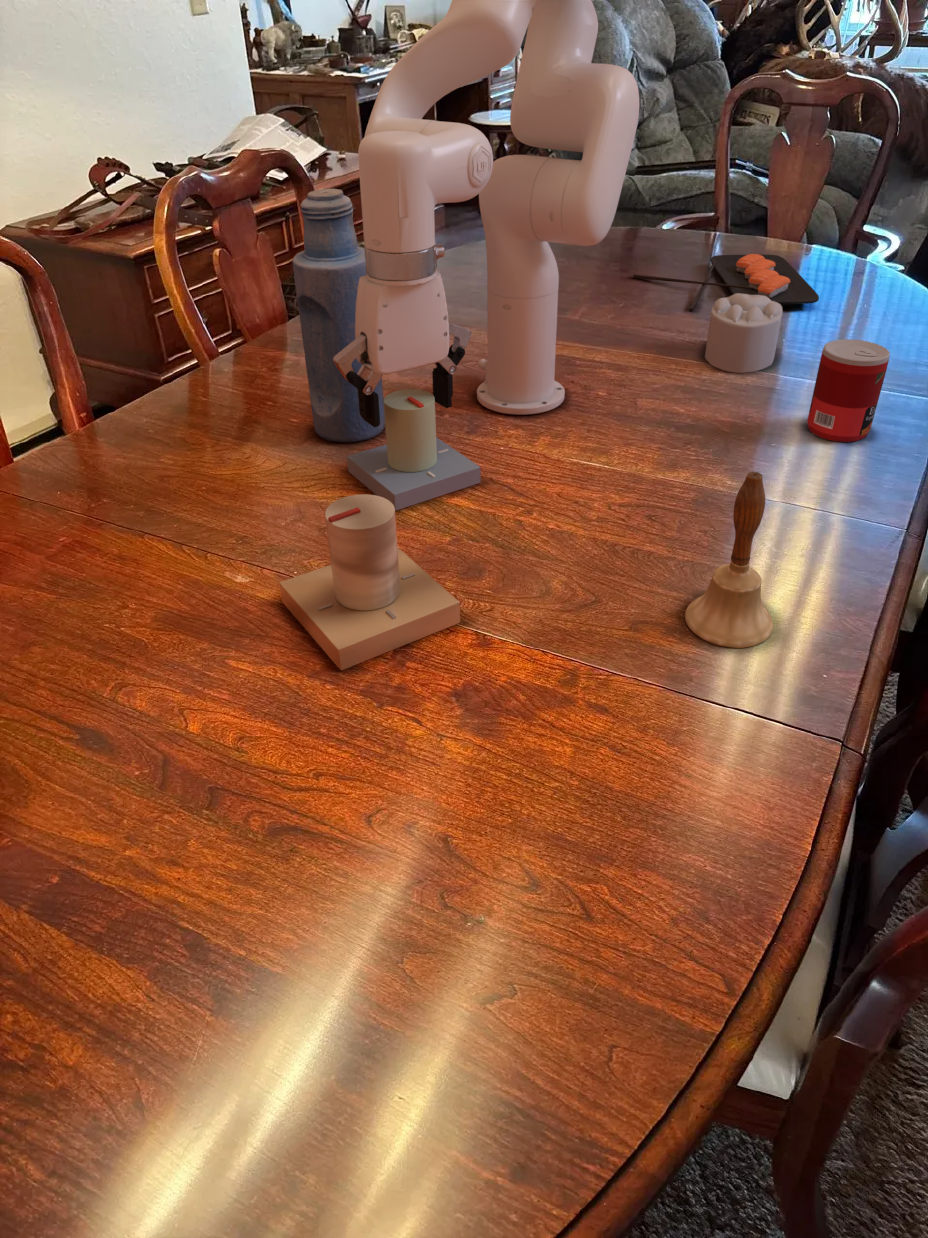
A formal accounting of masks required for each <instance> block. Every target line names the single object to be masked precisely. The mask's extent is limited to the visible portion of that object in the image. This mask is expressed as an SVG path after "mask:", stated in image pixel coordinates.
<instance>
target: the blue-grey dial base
mask: <svg viewBox="0 0 928 1238" xmlns="http://www.w3.org/2000/svg"><path fill="white" fill-rule="evenodd" d="M436 444H437V462H436V464H435V465H434V466H433V467H431V468H429V469H427V470H423V471H419V472H403V471H398V470H395V469H393V468H392V467H391V466H390V465H389V464H388V455H387V443H386V444H382V445H379V446H376V447H372V448H369V449H366V450H363V451H362V450H361V451H358V452H355V453H352V454H349V455H346V464H347V471H348V473H349V474H350V475H352V476H353V477H354V478H355V479H356V480H358V482H360V483H361V484H362V485H364V486H365V487H366V488H367V489H368V490H370V492H372V493H373V495H376V496H380V497H383V498H385V499H387V500H389V501H390V502H391V503H392V504H393V505H394V508H395V512H397V511H399V510H403V509H405V508H409V507H412V506H414V505H417V504H421V503H424V502H426V501H430V500H433V499H435V498H439V497H442V496H445V495H449V494H452V493H454V492H458V491H460V490H463V489H466V488H470V487H472V486H475V485H478V484H481V481H482V480H481V466H480V465H478V464H477V463H475V462H474V461H473V460H471V459H470V458H469V457H467V456H465V455H464V454H462V453H461V452H459V451H457V450H456V449H455V448H453V447H452V446H450V444H447V443H446V442H445V441H443V440H442V439H440V438H438V436H436Z"/></svg>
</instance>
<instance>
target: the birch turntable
mask: <svg viewBox="0 0 928 1238" xmlns="http://www.w3.org/2000/svg"><path fill="white" fill-rule="evenodd" d="M398 560H399V574H400V588H401V589H400V594H399V596H398V597H397V599H396V600H395V601H394V602H392V603H391V604H389V605H387V606H385V607H382V608H379V609H375V610H365V611H363V610H354V609H350V608H347V607H345V606H343V605H341V604H340V603H339V602H338V601H337V599H336V597H335V592H334V584H333V576H332V568H331V564H329V565H325V566H322V567H319V568H316V569H314V570H311V571H308V572H305V573H303V574H300V575H297V576H293V577H291V578H288V579H285V580H282V581H280V582H278V583H279V589H280V595H281V601H282V604H283V605H284V606H285V608H287V610H288V611H289V612H290V613H291V614H292V616H293V617H294V618H295V619H296V620H297V621H298V623H299V624H300V625H301V626H302V627H303V628H304V629H305V631H306V632H307V633H308V634H309V636H310V637H311V638H312V639H313V640H314V642H315V643H316V644H317V645H318V646H319V647H320V648H321V649H322V651H323V652H324V653H325V654H326V656H327V657H328V658H329V659H330V660H331V661H332V663H333V664H335V666H336V667H337V668H338V669H339V670H340V671H341V672H342V671H345V670H347V669H349V668H352V667H354V666H356V665H358V664H361V663H362V664H363V663H364V662H366V661H369V660H371V659H374V658H376V657H379V656H381V655H383V654H384V655H385V654H387V653H389V652H391V651H393V650H396V649H398V648H399V649H400V648H401V647H403V646H405V645H409V644H411V643H413V642H416V641H419V640H421V639H423V638H427V637H428V636H431V635H434V634H437V633H438V632H441V631H443V630H446V629H448V628H451V627H453V626H456V625H458V624H460V623H461V602H460V601H459V600H458V599H457V598H456V597H455V596H453V595H452V594H451V593H450V592H449V591H448V590H447V589H446V588H444V587H443V585H441V584H440V583H439V582H438V581H437V580H435V579H434V577H432V576H431V575H430V574H428V572H426V571H425V569H423V568H422V567H420V566H419V564H418V563H416V562H415V561H414V560H413V559H412V558H411V557H409V556H408V555H407V554H406V553H405V552H404V551H403V550H401V549H400V548H399V547H398Z"/></svg>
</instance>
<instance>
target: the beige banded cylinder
mask: <svg viewBox="0 0 928 1238" xmlns="http://www.w3.org/2000/svg"><path fill="white" fill-rule="evenodd" d="M324 519H325V528H326V535H327V544H328V551H329V559H330V560H329V561H330V565H331V568H332V576H333V584H334V592H335V597H336V599H337V601H338V602H339V603H340V604H341V605H343V606H345V607H347V608H350V609H354V610H363V611H365V610H375V609H379V608H382V607H385V606H387V605H389V604H391V603H392V602H394V601H395V600H396V599H397V597H398V596H399V594H400V589H401V588H400V574H399V560H398V548H399V547H398V535H397V520H396V511H395V508H394V505H393V504H392V503H391V502H390V501H389V500H387V499H385V498H383V497H380V496H377V495H376V494H366V493H365V494H364V493H360V494H352V495H347V496H344V497H341V498H338V499H336V500H335V501H333V502H331V503H330V504H329V505H328V506H327V507H326V509H325V511H324Z"/></svg>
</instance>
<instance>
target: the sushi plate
mask: <svg viewBox="0 0 928 1238" xmlns="http://www.w3.org/2000/svg"><path fill="white" fill-rule="evenodd" d="M710 263H711V267H710V269H709V271H708V273H707V275H706V276H705V278H704V281H700V280H699V281H697V280H690V279H682V278H681V279H680V278H671V277H662V276H655V275H645V274H633V275H632V278H633V279H639V280H649V281H659V282H670V283H672V282H673V283H683V284H695V285H701V286H700V288H699V290H698V291H697V293H696V295H695V297H694V299H693V301H692V303H691V305H690V307H689V311H690V312H694V310H695V307H696V305H697V303H698V301H699V299H700V298H701V295H702V293H703V290H704V288H705V286H715V287H725V288H727V289H728V291H730V293H731V294H732V295H734V294H737V293H740V294H748V295H763V296H766V297H768V298H769V299H770V300H771V301H774V302H777V303H779V304H781V306H782V308H786V307H789V308H790V307H794V306H796V305H804V304H805V305H806V304H814V303H815V304H816V303H818V302H819V299H820V296H819V294H818V293H817V291H815V289H813V287H812V286H811V285H810V284H809V283H808V281H806V280H805V279H804V278H803V276H801V275H800V273H798V271H797V270H796V269H795V268H794V267H793V266H792V264H790V262H788V261H787V260H786V259H785V258H784V257H782V256H780V255H776V254H762V253H761V254H758V253H749V254H719V255H713V256H711V257H710ZM713 270H715V271H716V273H717V274H718V275H719V277H720V279H721V280H722V282H723V283H718V282H717V283H716V282H708V279H709V277H710V276H711V273H712V271H713Z"/></svg>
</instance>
